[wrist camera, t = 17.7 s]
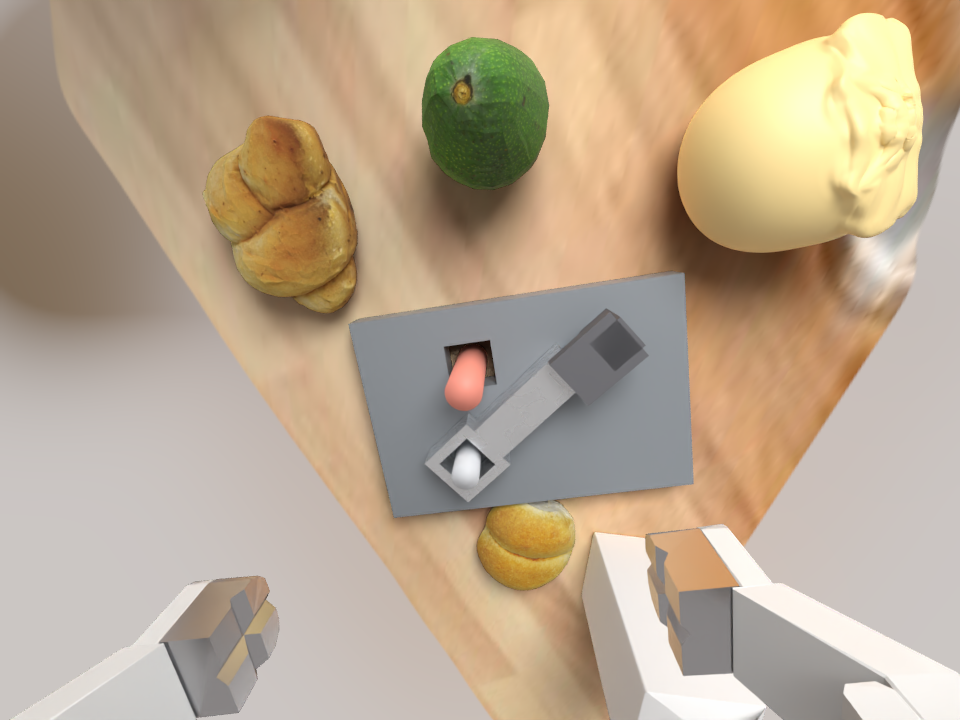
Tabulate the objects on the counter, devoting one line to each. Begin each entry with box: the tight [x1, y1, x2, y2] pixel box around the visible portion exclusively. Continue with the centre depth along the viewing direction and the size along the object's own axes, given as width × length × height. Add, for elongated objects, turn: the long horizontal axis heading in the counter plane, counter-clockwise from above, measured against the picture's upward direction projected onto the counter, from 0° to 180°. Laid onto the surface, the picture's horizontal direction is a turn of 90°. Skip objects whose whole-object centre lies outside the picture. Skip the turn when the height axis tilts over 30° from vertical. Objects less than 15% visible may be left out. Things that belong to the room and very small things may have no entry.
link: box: [425, 343, 576, 502], centre depth 34 cm, size 13×5×2 cm, turn 136°
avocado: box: [422, 37, 549, 190], centre depth 26 cm, size 8×8×12 cm
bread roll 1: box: [202, 116, 357, 313], centre depth 31 cm, size 13×10×8 cm
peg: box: [445, 344, 487, 411], centre depth 32 cm, size 2×2×9 cm
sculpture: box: [677, 13, 923, 253], centre depth 27 cm, size 12×12×11 cm
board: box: [349, 271, 694, 518], centre depth 34 cm, size 17×25×7 cm
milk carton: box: [582, 532, 766, 720], centre depth 32 cm, size 7×7×19 cm
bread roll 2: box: [477, 500, 575, 590], centre depth 39 cm, size 8×9×4 cm
